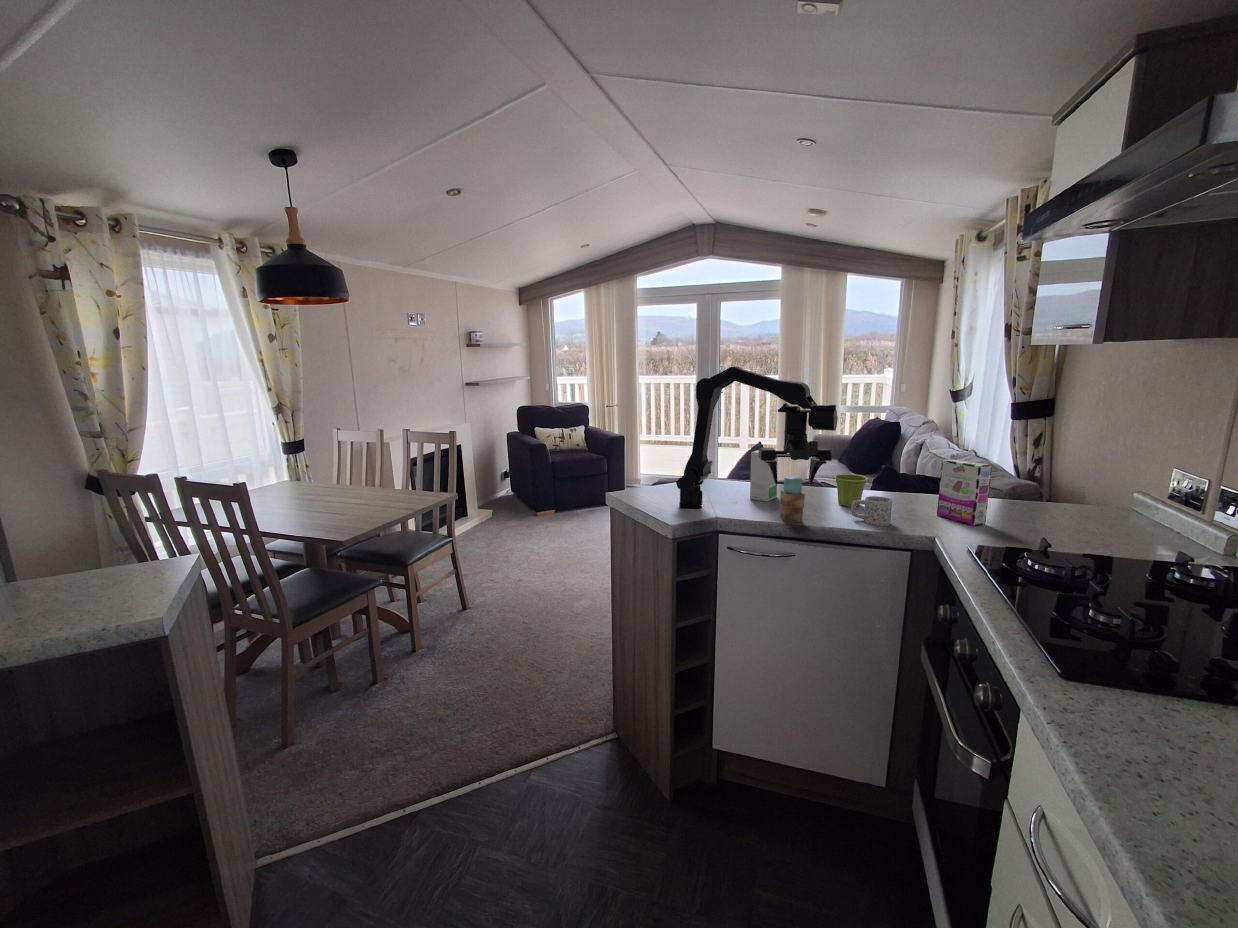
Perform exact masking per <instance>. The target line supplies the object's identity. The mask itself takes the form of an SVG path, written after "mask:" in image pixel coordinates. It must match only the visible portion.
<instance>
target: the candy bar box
mask: <svg viewBox="0 0 1238 928" xmlns="http://www.w3.org/2000/svg"><path fill="white" fill-rule="evenodd" d="M940 469H941V470H940V478H939V479H940V481H939V489H938V498H937V499H938V500H937V501H938V502H937V507H936V508H937V509H936V516H937V517H940V518H943V519H947V520H951V521H954V522H958V523H962V524H965V525H969V526H973V527H974V526H982V525H985V524H986V520H987V513H988V502H989V494H990V486H991V477H992V470H993V464H988V463H982V462H976V461H975V462H974V461H969V460H962V459H957V458H948V459H942V460H941V468H940Z"/></svg>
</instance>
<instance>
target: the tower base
mask: <svg viewBox="0 0 1238 928" xmlns="http://www.w3.org/2000/svg"><path fill="white" fill-rule="evenodd" d="M803 515H804V508H787V509H786V508H785V507H784V506H782V505H781V504H780V518H781V520H782V521H783V522H784V523H803Z"/></svg>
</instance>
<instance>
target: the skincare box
mask: <svg viewBox="0 0 1238 928" xmlns="http://www.w3.org/2000/svg"><path fill="white" fill-rule="evenodd" d="M758 452H759V449H758V450H754V451H752V452H750V485H749V486H750V488H749V500H755V501H760V502H770V501H772V500H773V499H776V498H777V497H778V496H777V495H778V484H777V485H776V484H775V482H774V479H773V476H772V472H771V469H770V467H769V465H768V464H767V463H765V462H764V461H763V460H761V459H760V458H759V457H758ZM775 461H777V472H778V469H779V468H778V467H779V463H778V462H779V457H776V458H775Z"/></svg>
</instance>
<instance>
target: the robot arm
mask: <svg viewBox="0 0 1238 928" xmlns="http://www.w3.org/2000/svg"><path fill="white" fill-rule="evenodd" d="M735 382H737V383H739V384H743V385H746V386H749V387H752V388H755V389H758V390H760V391H765V392H767V393H770V394H772V395H774V396H775V397H777V398H779V399H780V400H782V401H784V403H783V404H782V406H781V407H780V408H779V409H777V412H778V413H784V415H785V416H784V431H783V434H784V436H783V437H784V438H783V439H784V440H783V450H776V449H775V447H760V448H759V449H758V450H759V452H758V457H759V458H760V459H761V460H763V461H764V462H765V463H767V464H768V465H769V467H770V469H771V472H772V476H773V479H774V482H775V484H776V485H777V486H778V471H777V461H775V458H776V457H778V458H789V459H791V460H792V461H798V460H800V461H801V460H804V461H810V462H809V473H808V485H809V486H812V484H813V481H814V480H815V478H816V475H817V472H818V471H819V469H820V468H821V466H822V465H824V464H825V465H826V464H827V462H830V461H833V452H832V451H831V450H830V449H828V448H827V447H819V443H818V441H817V440H811V441H808V434H807V429H808V426H809V427H810V428H812V430H813V431H814V430H815V431H830V432H831V431H833V432H834V431H837V427H838V420H839V416H838V411H837V405H836V404H827V405H826V404H821V405H820V404H817V402H816V401H815V400H814V398H813V397H812V395H811V388H810V387H809V385H808V384H806V383H805V382H802V381H793V380H783V379H776V378H773V377H771V376H766V375H764V374H761V373H757V372H754V371H751V370H747V369H744V368H741V367H740V366H737V365H736V366H735V365H734V366H729V367H728V368H727V369H724V370H723V371H721V372H718V373H717V374H714V375H713V376H710V377H703V378H701V379H700V380H698V381H697V382H696V385H695V399H696V402H697V408H698V409H697V414H696V415H697V416H696V421H695V430H694V436H693V443H692V449H691V454H690V456H689V458H688V460H687V462H686V464H685V468H684V471H683V475H682V476H681V477H680V478H678V479H677V480H676V482H675V483H676V487H677V489H679V508H680V509H701V508H702V505H703V490H702V489H701V486H702V485H703V483H704V481H705V480H707V478H708V477H709V475H711V474H712V469H711V468H712V465H713V460H709V458H708V450H709V442H710V435H711V431H712V430H711V428H712V422H713V416H714V410H715V407H716V406H717V403H718V402H719V400H720V396H721V394H722V391H723V389H725V388H727V387H729V386H730V385H732V384H733V383H735ZM785 402H786V403H785ZM789 404H790V405H789ZM801 408H802V409H801Z"/></svg>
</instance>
